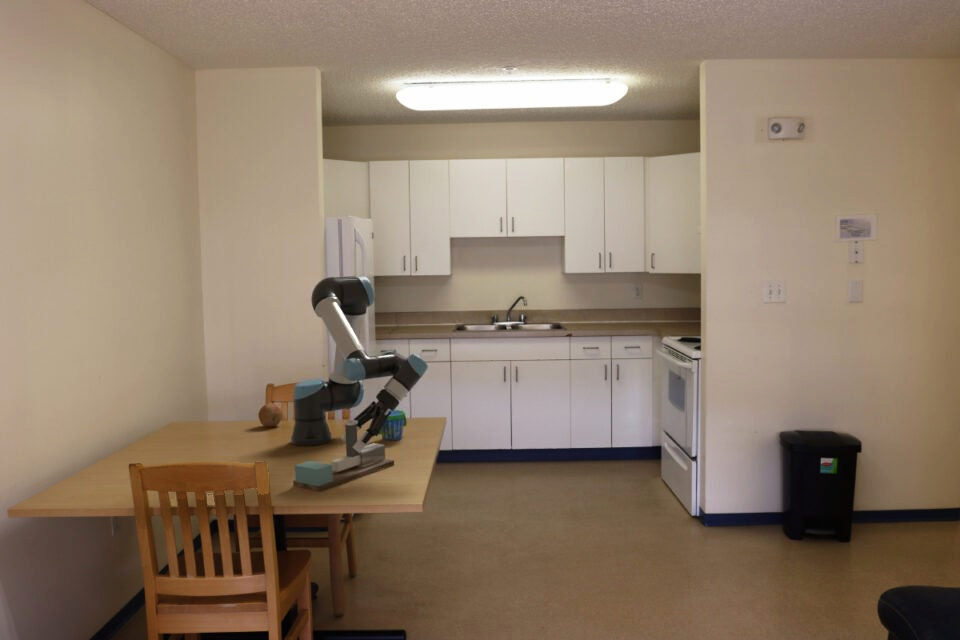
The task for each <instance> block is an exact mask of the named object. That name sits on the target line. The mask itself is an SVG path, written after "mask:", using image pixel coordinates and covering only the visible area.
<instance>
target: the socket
mask: <svg viewBox="0 0 960 640" xmlns="http://www.w3.org/2000/svg"><path fill="white" fill-rule="evenodd" d="M294 473H295V474H294V476H295V477H294V478H295V480H296V482H300V483H305V484H310V485H315V486H320V485H323V484H326V483H329V482H332V481H333V477H332V465H331V464H329V463H324V462H318V461H312V460H307V461H304V462H302V463H301V462H300V463H299V464H294ZM295 480H294V481H295Z"/></svg>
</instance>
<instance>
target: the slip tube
mask: <svg viewBox="0 0 960 640" xmlns="http://www.w3.org/2000/svg"><path fill="white" fill-rule="evenodd" d="M357 424H358V421H357V420H354V419H349V420H345V421H343V425H344V429H345V430H344V431H345V432H344V433H346V443H345V448H346V449H345V451H346V452H345V453H346V455H345V456H342V457H339V458H336V459H333V460H331V462H330V463H331V464H330V465H332V470H333V471H338V472H339V471H341V470H344V469H347V468H350V467H353V466H356V465H359V464H361V454H358V452H357V451H356V450H355V449H354V448H353V446H354V445H355V444H356V442H357V441H358V432H357Z"/></svg>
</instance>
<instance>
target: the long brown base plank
mask: <svg viewBox="0 0 960 640" xmlns="http://www.w3.org/2000/svg"><path fill="white" fill-rule="evenodd" d="M358 454H361V464H359V465H356V466H353V467H350V468H347V469H344V470H341V471H339V472H338V471H333V470H332V477H333V481H332V482H329V483H326V484H323V485H320V486H315V485H310V484H305V483H300V482H296V480H293V482H292V483H293V487H299V488H302V489H307V490H312V491H316V492H324V491H326V490H329V489H331V488H335V487H337V486H340V485H343V484H345V483H348V482H351V481H354V480H357V479H359V478H362V477H364V475H365V476H367V474H368V475H370V474H373V473H375V471H376V472H378V471H377V470H379V471H381V470H383V468H384V469H387V468H389V467H391V465H392V466H394V465H395V459H388V458H386V446H385V444H382V443H375V442H373V443H371V444H368V445H367V444H366V445H365V447H364V448H363V449H362V450H361V451H360V453H359V452H358ZM388 466H389V467H388ZM386 467H387V468H386ZM380 469H381V470H380ZM372 472H373V473H372ZM369 473H370V474H369ZM361 476H362V477H361ZM358 477H359V478H358ZM356 478H357V479H356ZM353 479H354V480H353ZM350 480H351V481H350Z"/></svg>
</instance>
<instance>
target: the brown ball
mask: <svg viewBox="0 0 960 640" xmlns="http://www.w3.org/2000/svg"><path fill="white" fill-rule="evenodd" d="M258 419H259V422H260V424H261V425H263V426H264V427H265V428H273V427H277V426H278V425H279V424H280V423H281V422H282V420H283V410H282V408H281V407H280V405H277V403H275V402H270V403H266V404H264V405H263V406H261V408H259V411H258Z"/></svg>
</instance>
